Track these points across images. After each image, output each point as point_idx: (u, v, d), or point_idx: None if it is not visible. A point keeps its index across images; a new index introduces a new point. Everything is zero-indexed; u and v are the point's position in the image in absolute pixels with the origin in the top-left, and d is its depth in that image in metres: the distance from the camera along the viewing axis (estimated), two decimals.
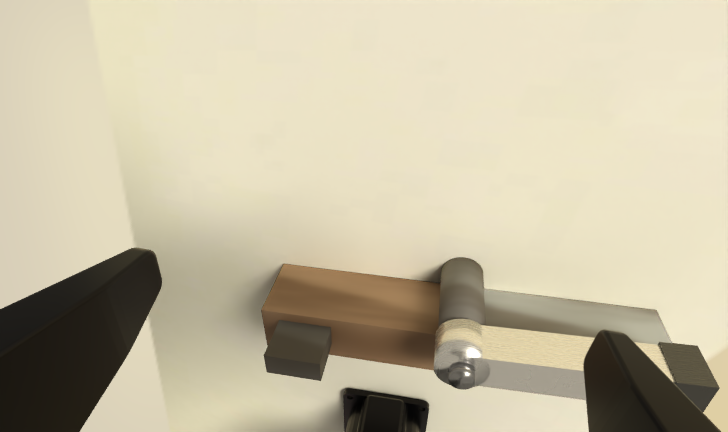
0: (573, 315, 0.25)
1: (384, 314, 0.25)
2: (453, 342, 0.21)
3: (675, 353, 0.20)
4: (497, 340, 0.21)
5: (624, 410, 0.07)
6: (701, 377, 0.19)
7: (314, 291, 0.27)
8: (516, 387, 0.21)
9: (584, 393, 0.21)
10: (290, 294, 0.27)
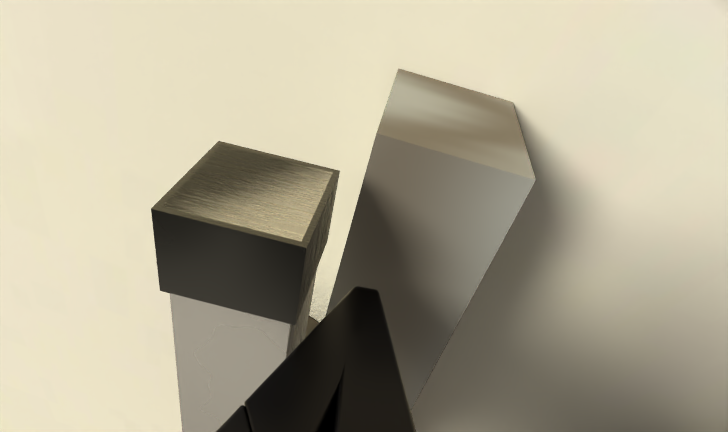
0: None
1: None
2: None
3: None
4: None
5: None
6: None
7: None
8: None
9: None
10: None
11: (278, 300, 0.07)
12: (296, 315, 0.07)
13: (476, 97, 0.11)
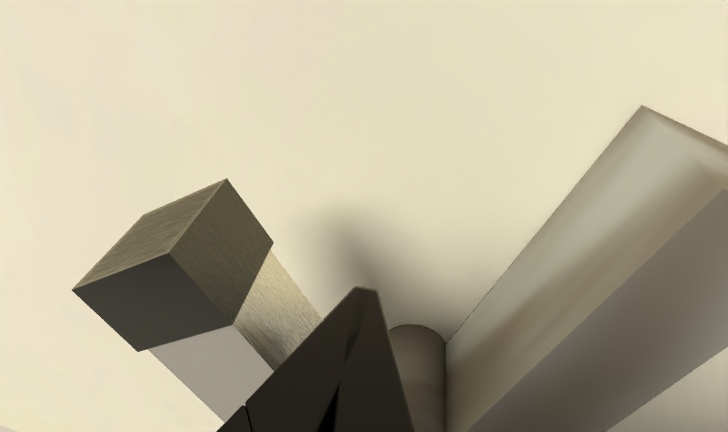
0: (537, 269, 0.13)
1: None
2: None
3: None
4: None
5: None
6: None
7: None
8: None
9: None
10: None
11: (200, 310, 0.07)
12: (226, 315, 0.07)
13: (719, 146, 0.11)
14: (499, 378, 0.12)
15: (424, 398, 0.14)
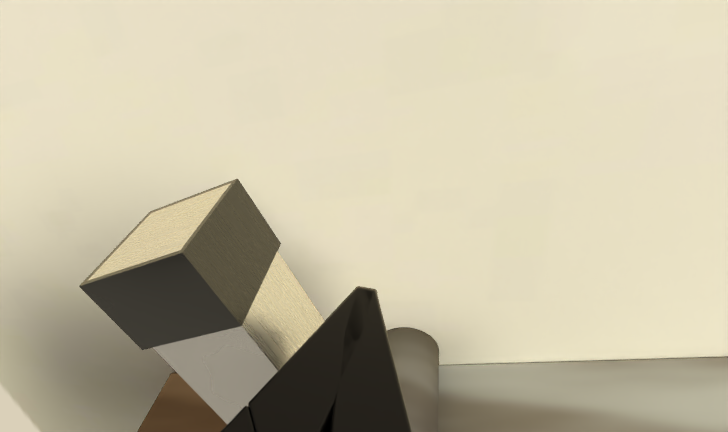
0: (591, 392, 0.15)
1: None
2: None
3: None
4: None
5: None
6: None
7: (201, 413, 0.18)
8: None
9: None
10: (167, 425, 0.18)
11: (210, 310, 0.07)
12: (235, 316, 0.07)
13: None
14: None
15: (437, 419, 0.15)
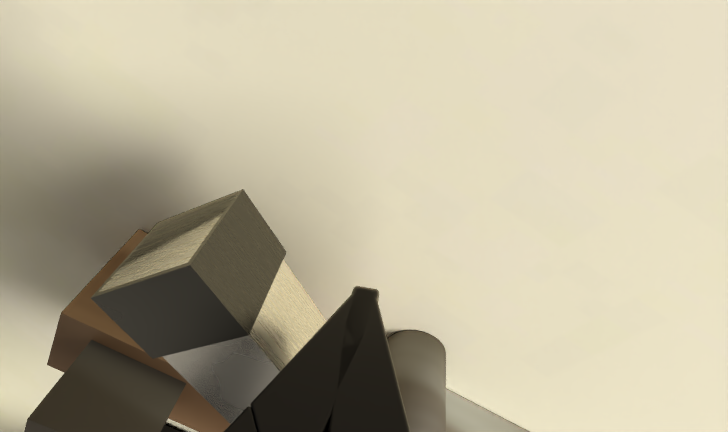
0: None
1: None
2: None
3: None
4: None
5: None
6: None
7: None
8: None
9: None
10: None
11: (218, 320, 0.07)
12: (243, 326, 0.07)
13: None
14: None
15: None
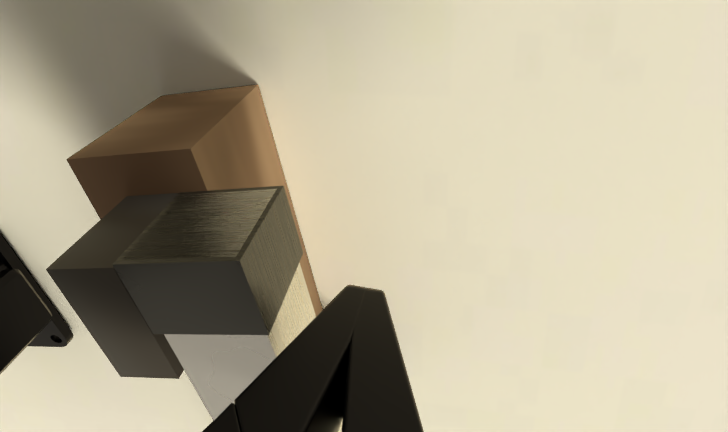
0: None
1: None
2: None
3: None
4: None
5: (348, 357, 0.08)
6: None
7: None
8: None
9: None
10: (237, 167, 0.11)
11: (243, 315, 0.07)
12: (266, 325, 0.08)
13: None
14: None
15: None
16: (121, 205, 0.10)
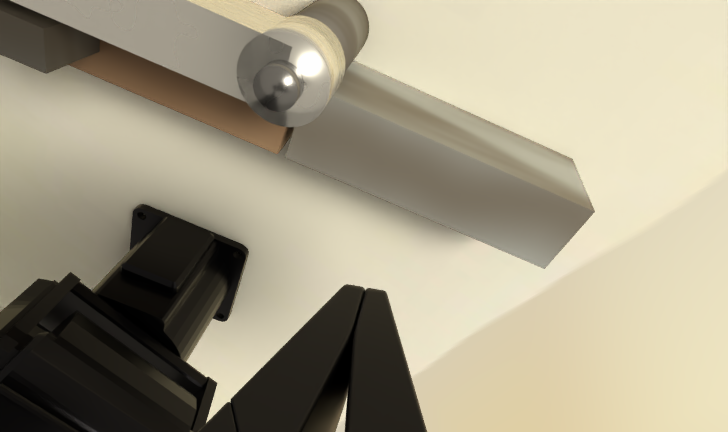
0: (470, 125, 0.18)
1: None
2: None
3: None
4: None
5: None
6: None
7: None
8: (196, 14, 0.12)
9: None
10: None
11: None
12: None
13: None
14: (409, 122, 0.16)
15: (352, 59, 0.16)
16: None
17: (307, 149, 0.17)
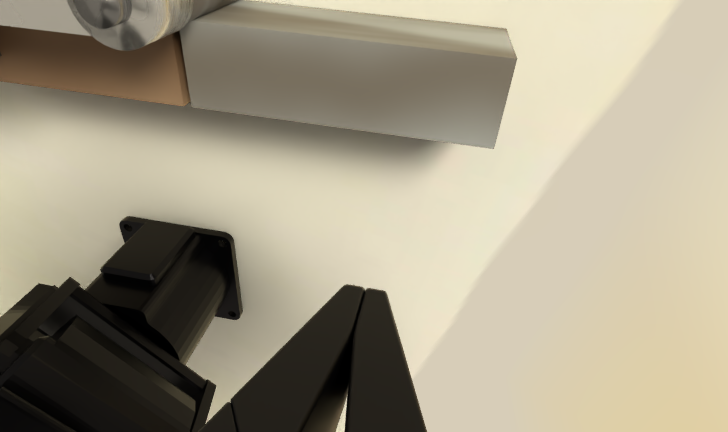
0: (374, 22, 0.16)
1: None
2: (148, 43, 0.13)
3: None
4: None
5: (350, 358, 0.08)
6: None
7: None
8: None
9: None
10: None
11: None
12: None
13: None
14: (291, 27, 0.15)
15: None
16: None
17: (206, 91, 0.16)
